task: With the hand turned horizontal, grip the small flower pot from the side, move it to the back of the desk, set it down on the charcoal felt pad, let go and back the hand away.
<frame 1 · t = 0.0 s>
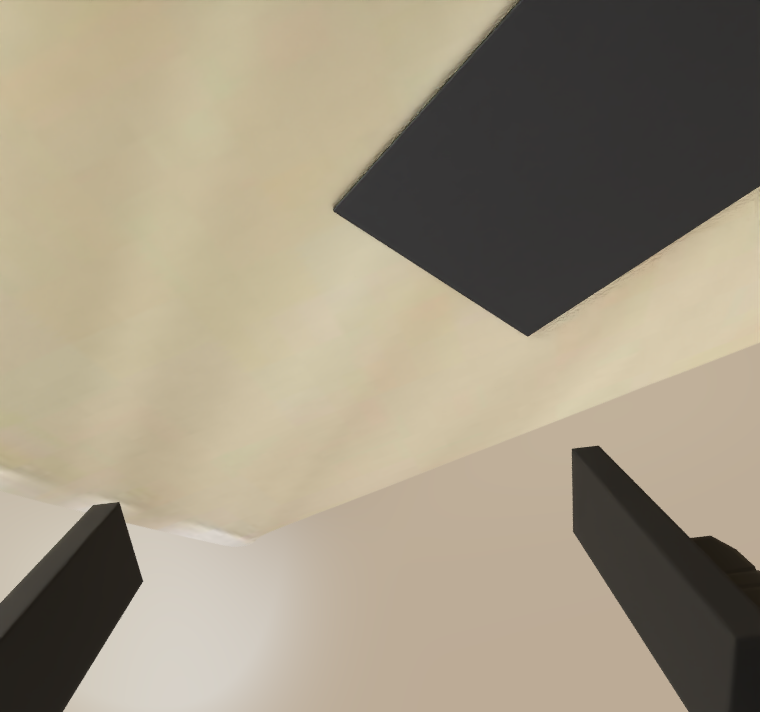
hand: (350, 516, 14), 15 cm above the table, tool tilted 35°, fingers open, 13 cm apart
felt pad: (602, 152, 23), on the table
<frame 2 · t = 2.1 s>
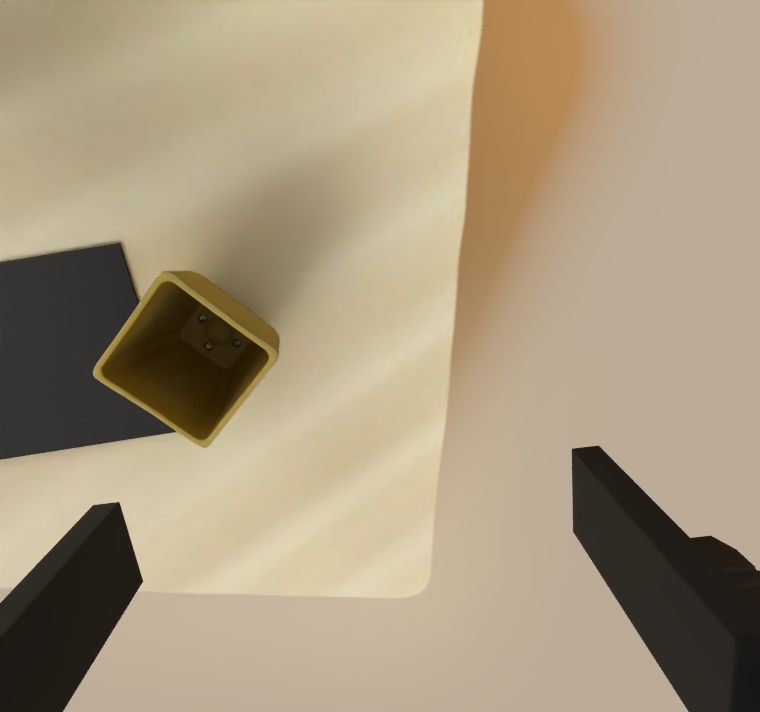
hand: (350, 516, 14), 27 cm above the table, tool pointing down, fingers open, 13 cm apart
felt pad: (30, 361, 41), on the table
flower pot: (223, 330, 41), on the table
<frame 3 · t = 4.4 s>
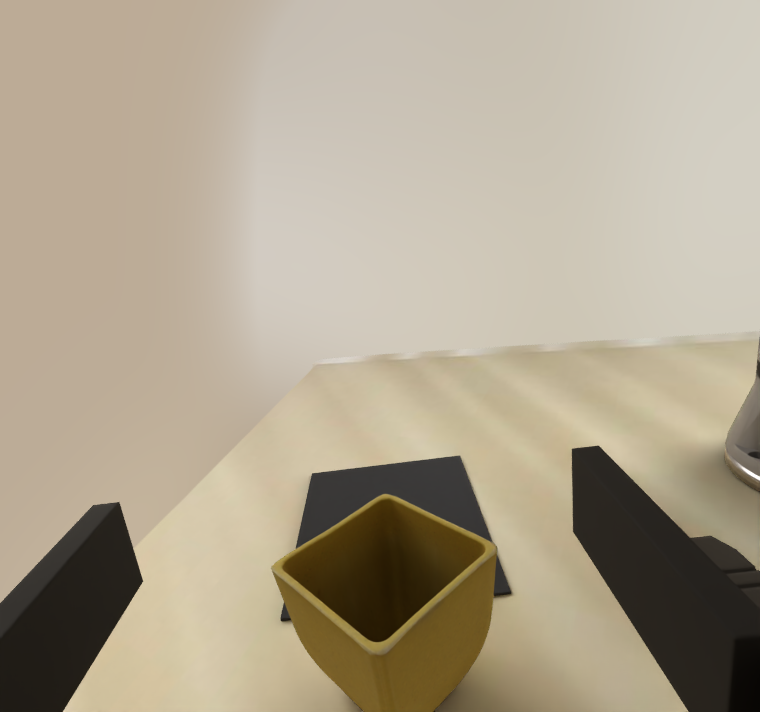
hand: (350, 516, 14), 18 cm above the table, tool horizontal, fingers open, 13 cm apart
felt pad: (389, 521, 44), on the table
flower pot: (401, 689, 29), on the table
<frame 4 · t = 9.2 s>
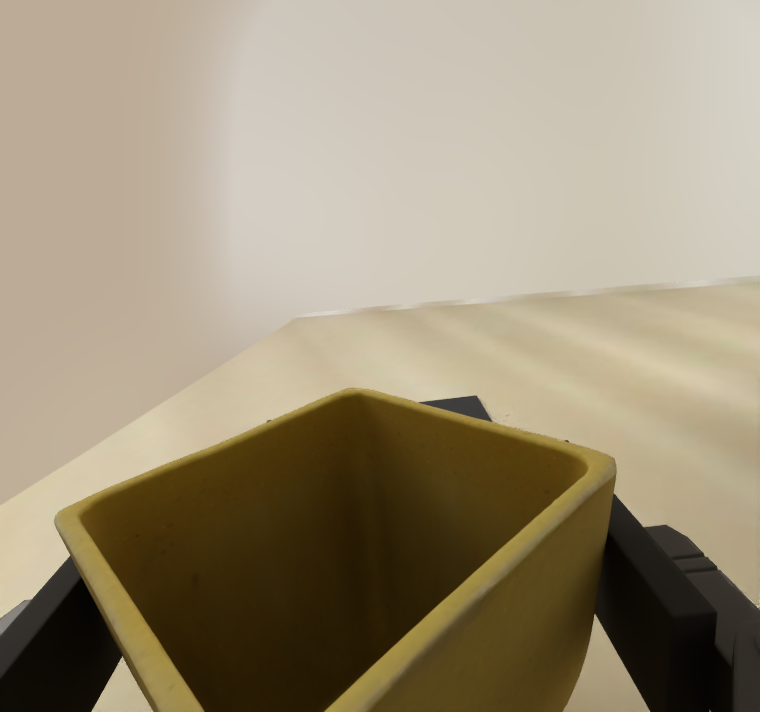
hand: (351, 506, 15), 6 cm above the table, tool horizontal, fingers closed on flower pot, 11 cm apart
felt pad: (372, 477, 28), on the table
when the fingers open (6 cm above the table, at t = 17.9 s): flower pot stays where it is, resting on felt pad.
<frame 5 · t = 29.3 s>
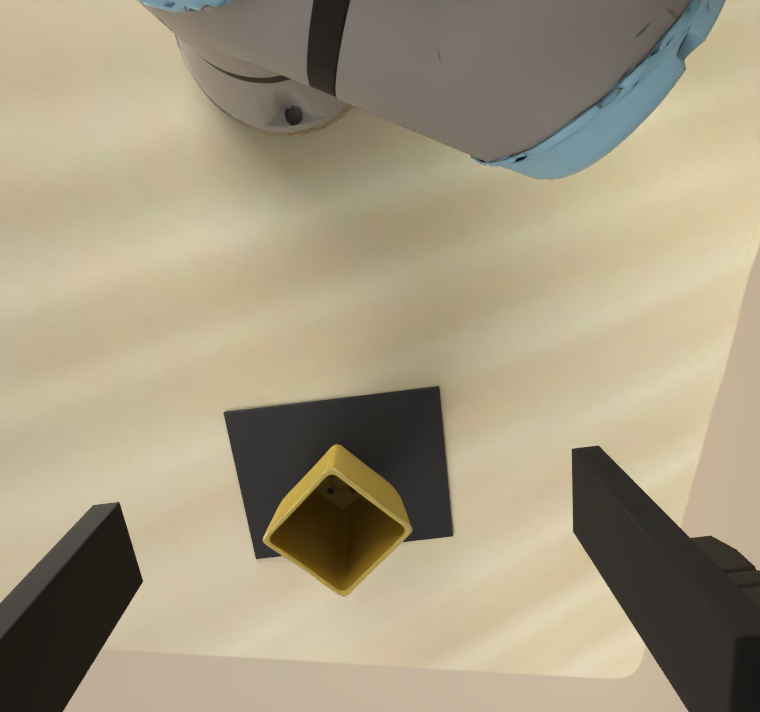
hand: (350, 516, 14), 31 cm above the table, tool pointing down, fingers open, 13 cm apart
felt pad: (343, 476, 48), on the table
flower pot: (343, 477, 48), resting on felt pad
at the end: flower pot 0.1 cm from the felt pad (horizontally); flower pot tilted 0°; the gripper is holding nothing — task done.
